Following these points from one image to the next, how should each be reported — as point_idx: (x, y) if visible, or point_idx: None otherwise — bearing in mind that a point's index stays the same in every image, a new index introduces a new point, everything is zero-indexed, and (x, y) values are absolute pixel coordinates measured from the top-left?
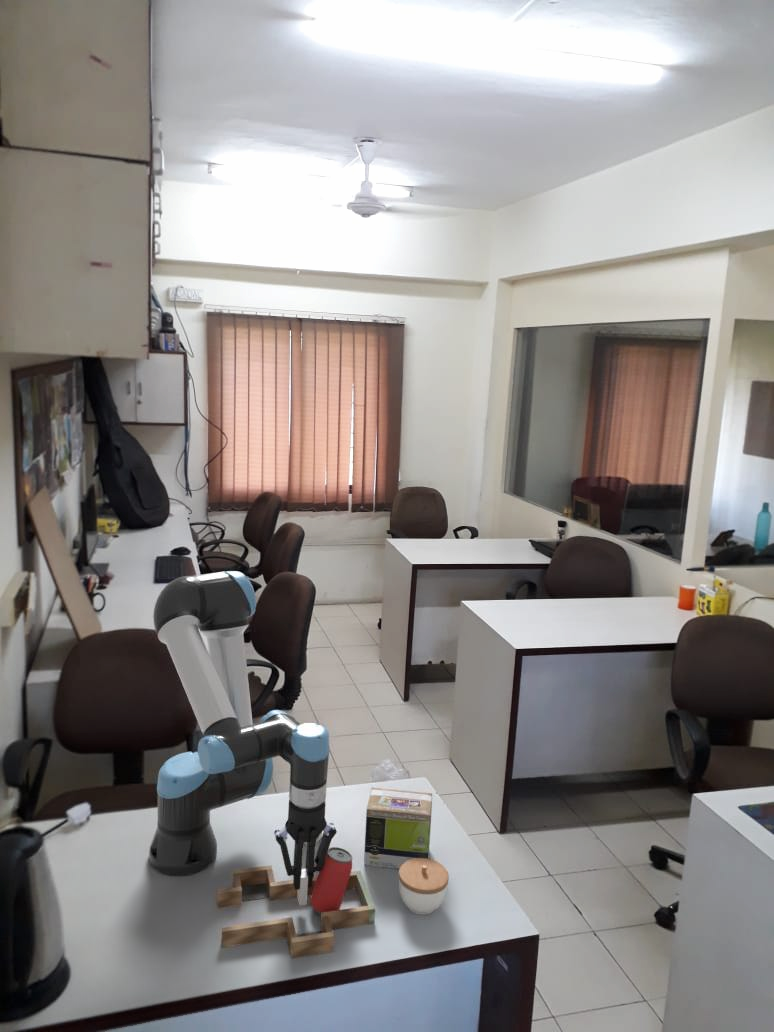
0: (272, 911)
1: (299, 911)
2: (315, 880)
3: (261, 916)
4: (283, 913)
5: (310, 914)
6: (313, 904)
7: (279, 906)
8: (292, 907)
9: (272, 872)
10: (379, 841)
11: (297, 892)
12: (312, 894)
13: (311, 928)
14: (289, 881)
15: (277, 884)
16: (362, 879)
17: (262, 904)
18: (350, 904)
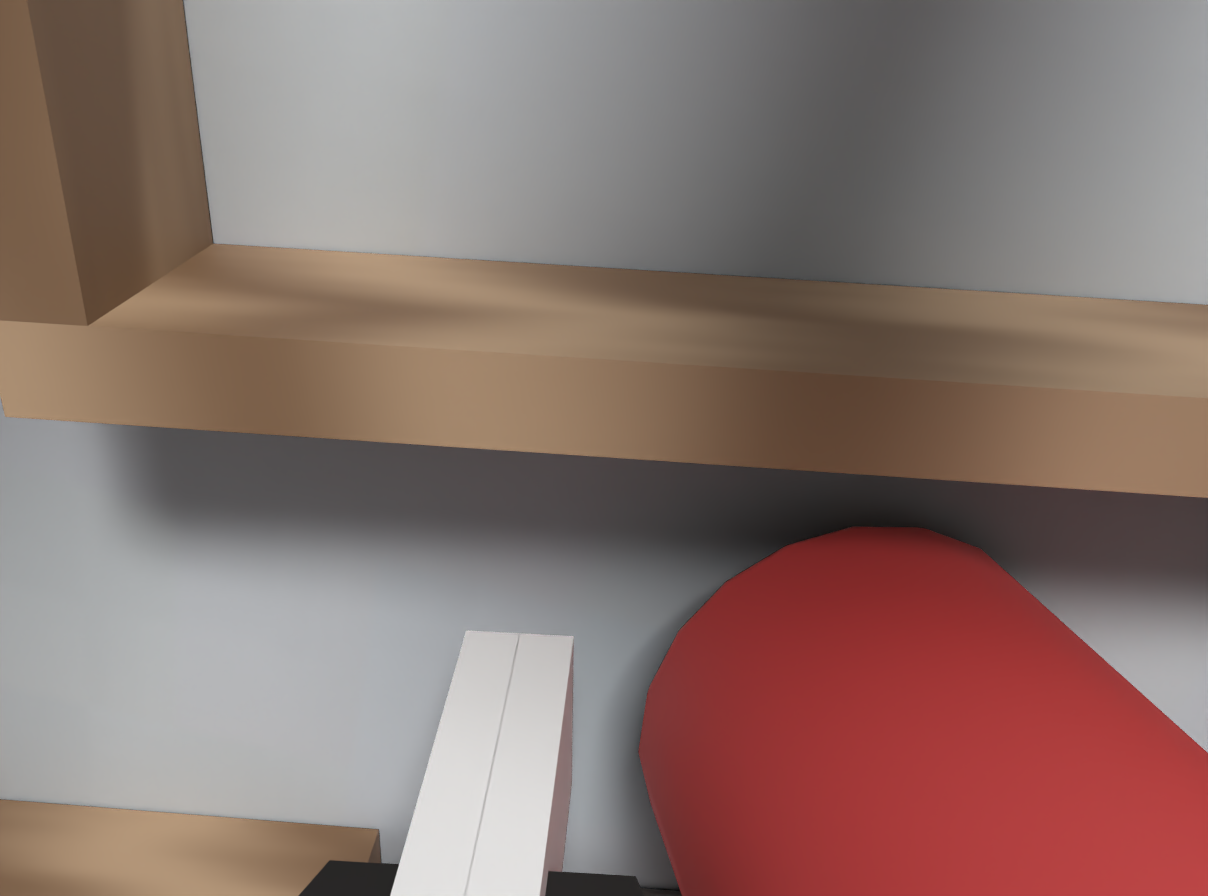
0: (181, 508)
1: (520, 593)
2: (845, 471)
3: (46, 550)
4: (318, 573)
5: (642, 668)
6: (659, 827)
7: (275, 449)
8: (444, 509)
9: (17, 12)
10: None
11: (452, 688)
12: (673, 796)
13: (598, 837)
14: (360, 378)
15: (133, 399)
16: None
17: None
18: (1197, 649)
